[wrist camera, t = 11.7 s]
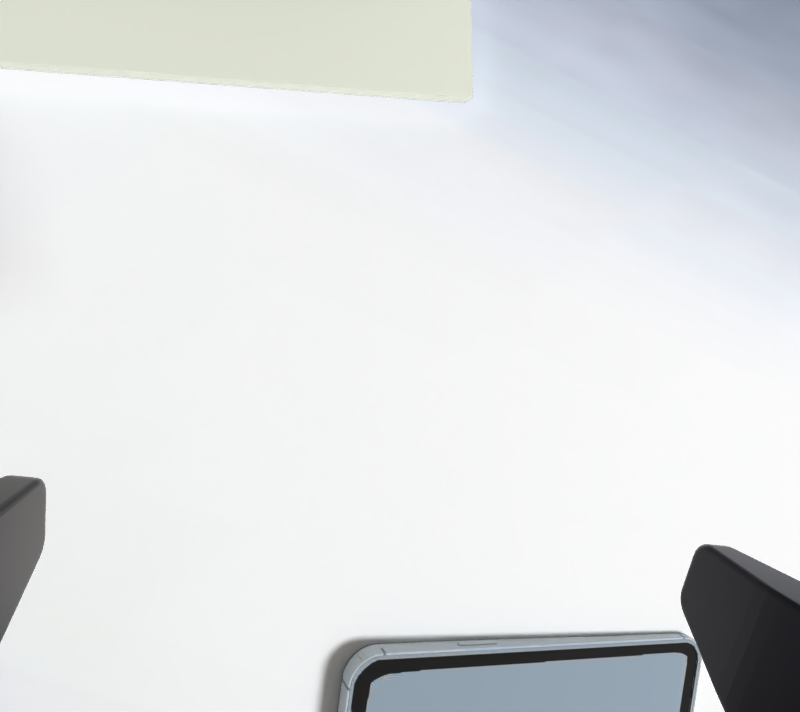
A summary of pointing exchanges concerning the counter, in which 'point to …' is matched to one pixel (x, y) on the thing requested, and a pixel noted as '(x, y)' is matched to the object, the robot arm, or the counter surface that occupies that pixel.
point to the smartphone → (526, 675)
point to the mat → (252, 43)
